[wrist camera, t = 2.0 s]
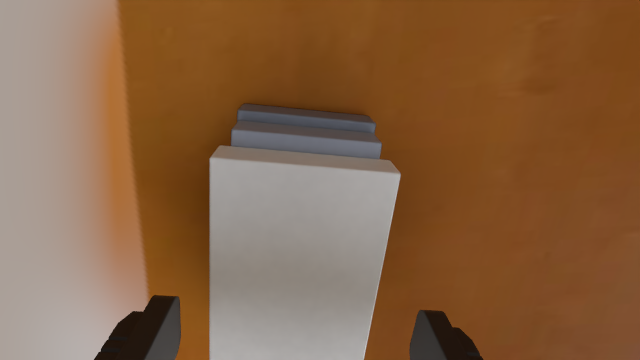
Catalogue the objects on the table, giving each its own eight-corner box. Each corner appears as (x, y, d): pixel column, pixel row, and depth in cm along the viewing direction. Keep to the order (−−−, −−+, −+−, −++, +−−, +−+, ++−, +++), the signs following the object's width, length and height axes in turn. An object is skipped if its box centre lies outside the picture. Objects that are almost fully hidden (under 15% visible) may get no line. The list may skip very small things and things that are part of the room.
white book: (219, 144, 12) (209, 157, 11) (390, 159, 13) (401, 173, 12) (217, 359, 16) (209, 389, 15) (352, 363, 17) (357, 393, 15)
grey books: (242, 103, 15) (229, 117, 12) (369, 115, 16) (386, 132, 13) (235, 324, 19) (224, 375, 16) (335, 328, 20) (342, 379, 17)
